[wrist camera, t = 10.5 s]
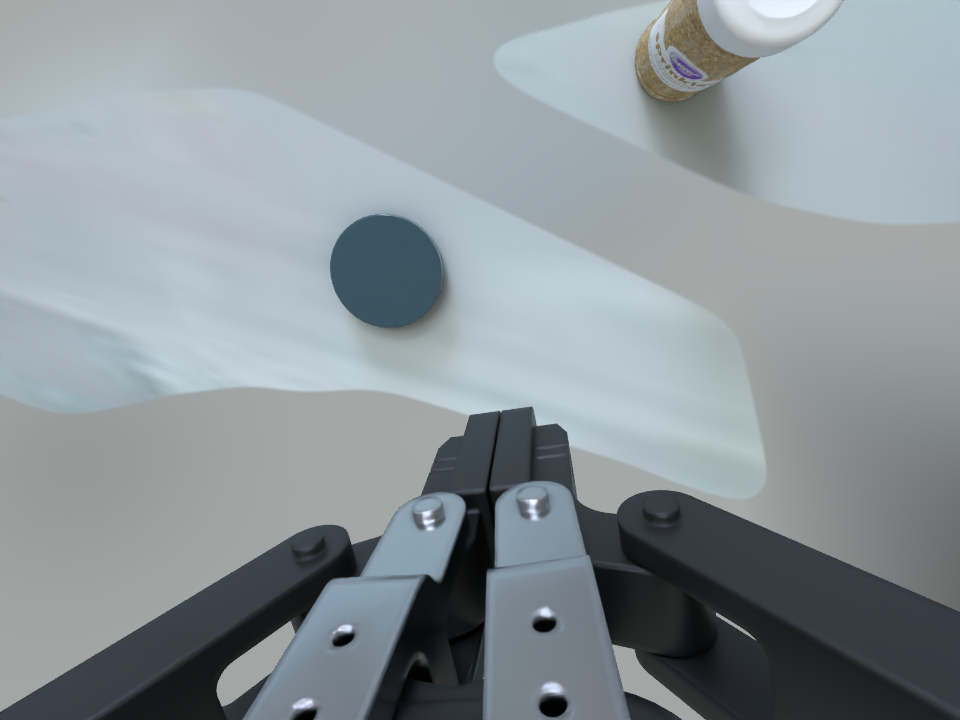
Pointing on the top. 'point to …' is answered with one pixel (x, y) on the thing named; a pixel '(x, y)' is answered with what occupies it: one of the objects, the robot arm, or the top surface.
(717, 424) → the top surface
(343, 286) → the plate
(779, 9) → the sprinkles bottle
